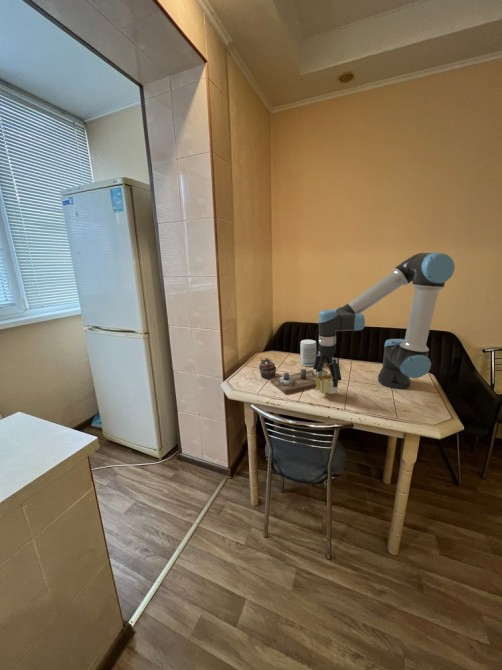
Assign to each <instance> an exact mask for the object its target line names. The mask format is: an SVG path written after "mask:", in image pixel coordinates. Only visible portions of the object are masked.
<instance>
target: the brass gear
mask: <svg viewBox="0 0 502 670" xmlns="http://www.w3.org/2000/svg"><path fill="white" fill-rule="evenodd" d="M331 380H332V376H331V373H328V374H326V373H323V374H321V375H319V374H317V377H316V387H315V390H316V391H319V393H321V394H323V393H325V394H326V393H327V394H328V395H330V394H331V395H332V393H331ZM338 386H339V385H338ZM338 386H337V390H338Z"/></svg>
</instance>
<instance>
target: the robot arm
mask: <svg viewBox="0 0 502 670" xmlns="http://www.w3.org/2000/svg"><path fill="white" fill-rule="evenodd" d="M455 265H456V264H455V263H454V260H453V258H452V257H451V256H450V255H449V254H446V253H442V252H420V253H417V254H414V255H412V256H410V257H409V258H407V259H406V260H404V261H402V262H401V263H400V264H398V265H397V266H396V267H394V268H393V269H392V272H391V273H389V274H387V276H385V277H383V278H382V279H380V280H379V281H377V282H376V283H375V284H374V285H372V286H370V287H369V288H368V289H366V290H365V291H364V292H362V293H360V294H359V295H358V296H356V297H354V299H352V300H351V301H350V302H348V303H347V304H345V305H343V306H342V307H341V306H340V307H336V309H324V310H323V309H322V310H321V311H319V316H318V317H319V318H318V351H317V350H316V358H315V363H314V366H313V370H314V369H316V372H317V374H319V375H321V374H322V369H324V366H325V365H326V367H328V370H329V374H331V376H332V380H331V395H332V394H336V393H337V392H338V389H337V386H339V385H338V384H339V381H342V376H341V367H340V359H339V358H335V354H336V350H337V348H336V346H337V345H336V343H337V332H348V331H350V332H351V331H353V332H357V331H362V330H363V329H364V328H365V326H366V319H365V315H364V314H363V312H365V311H366V310H368V309H369V308H371V307H372V306H374V305H375V304H377V303H379V302H380V301H381V300H382V299H384V298H385V297H387V296H389V295H390V294H392V293H394V292H395V291H396V290H397V289H399V288H400V287H401V286H408V284H410V283H412V287H413V288H414V293H413V298H412V302H411V308H410V311H409V317H408V322H407V327H406V331H405V336H404V338H390V339H389V338H388V339H386V340H385V342H384V348H383V349H384V350H383V359H382V367H381V370H379V373H378V376H377V382H378V383H379V384H380V385H382V386H385V387H387V388H391V389H398V390H399V389H400V390H401V389H407V388H409V387H410V386H411V383H412V381H411V379H419V378H421V377H423V376H426V374H428V373H429V372H430V370H431V367H432V362H431V360H430V358H429V357H428V356H429V351H430V349H429V347H428V346H427V341H428V337H429V334H430V330H431V326H432V321H433V318H434V317H433V315H434V312H435V307H436V303H437V299H438V294H439V291H440V290H442V289H444V288H445V284H446V282H448V281H449V279H451V278H452V277H453V275H454V272H455Z"/></svg>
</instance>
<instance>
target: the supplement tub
mask: <svg viewBox="0 0 502 670" xmlns="http://www.w3.org/2000/svg"><path fill="white" fill-rule="evenodd" d="M299 348H300V351H299V352H300V354H299V355H300V357H299V358H300V359H299V360H300V365H301V366H302V367H314V363H315V358H316V352H317V341H316V340H313V339H302V340H301V341H300V347H299Z"/></svg>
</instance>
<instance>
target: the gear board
mask: <svg viewBox="0 0 502 670" xmlns="http://www.w3.org/2000/svg"><path fill="white" fill-rule="evenodd" d="M323 373H326V374H329V373H328V371H327V370H325V369H324V368H322V374H323ZM316 377H317V372H316V369H314V368H313V369H309V370H307V369H306V368H301V369H300V372H298V373H292V374H289V372H284V373H283V375H282V376H279V377H274V378H271V379H270V383H271V384H272V385H273V386H275V387H276V388H277V389H278V390H279V391H281V392H282V393H283V394H284V395H289V394H293V393H297V392H300V391H304V390H308V389H311V388H316Z"/></svg>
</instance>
